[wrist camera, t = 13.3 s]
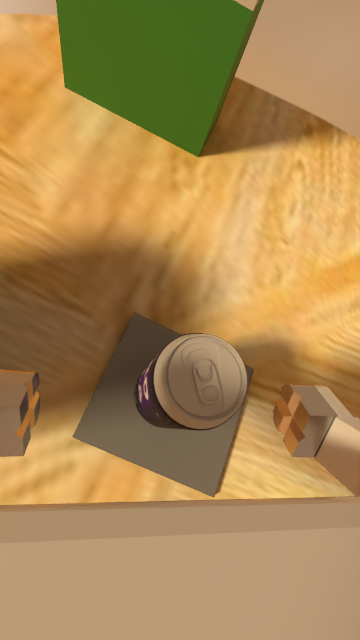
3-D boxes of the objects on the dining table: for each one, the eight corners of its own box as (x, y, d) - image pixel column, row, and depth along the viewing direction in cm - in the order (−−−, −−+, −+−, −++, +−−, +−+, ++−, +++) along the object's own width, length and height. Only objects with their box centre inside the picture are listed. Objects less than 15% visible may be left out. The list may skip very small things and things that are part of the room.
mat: (211, 495, 28) (214, 497, 27) (73, 436, 26) (72, 437, 26) (250, 370, 32) (254, 369, 31) (133, 315, 31) (134, 312, 30)
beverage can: (186, 358, 30) (238, 320, 19) (201, 419, 29) (266, 416, 17) (127, 369, 28) (146, 335, 17) (139, 435, 27) (168, 443, 16)
